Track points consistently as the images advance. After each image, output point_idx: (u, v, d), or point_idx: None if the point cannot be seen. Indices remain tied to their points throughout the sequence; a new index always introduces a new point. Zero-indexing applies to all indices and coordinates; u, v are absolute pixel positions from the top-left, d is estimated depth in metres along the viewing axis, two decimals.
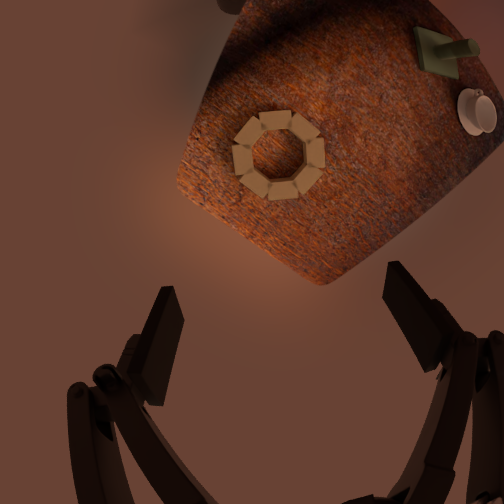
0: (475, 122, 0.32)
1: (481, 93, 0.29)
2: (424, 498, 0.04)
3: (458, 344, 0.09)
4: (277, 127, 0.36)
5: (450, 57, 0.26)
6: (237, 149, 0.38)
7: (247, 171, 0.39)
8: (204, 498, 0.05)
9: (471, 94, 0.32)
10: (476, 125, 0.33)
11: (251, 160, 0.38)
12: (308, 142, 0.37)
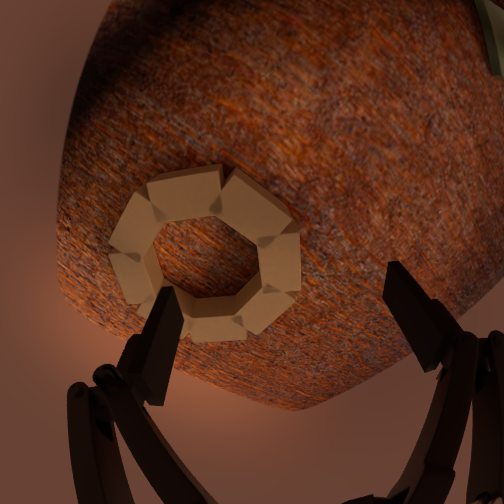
0: None
1: None
2: (424, 498, 0.04)
3: (458, 344, 0.09)
4: (189, 215, 0.17)
5: None
6: (118, 260, 0.18)
7: (145, 299, 0.20)
8: (204, 498, 0.05)
9: None
10: None
11: (148, 281, 0.19)
12: (263, 244, 0.18)
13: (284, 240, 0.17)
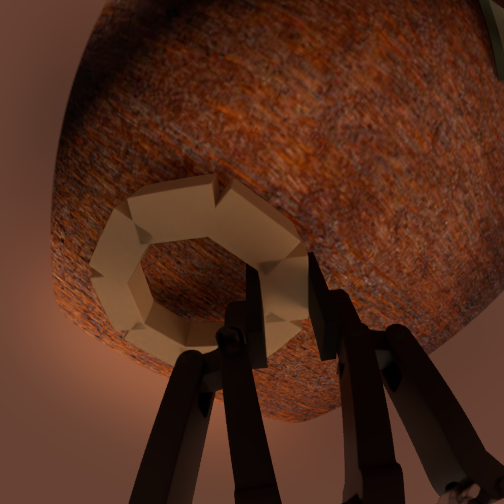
0: None
1: None
2: (379, 501, 0.04)
3: (346, 338, 0.10)
4: (178, 236, 0.14)
5: None
6: (101, 285, 0.15)
7: (133, 326, 0.17)
8: (276, 482, 0.06)
9: None
10: None
11: (135, 308, 0.16)
12: (266, 270, 0.15)
13: (290, 265, 0.15)
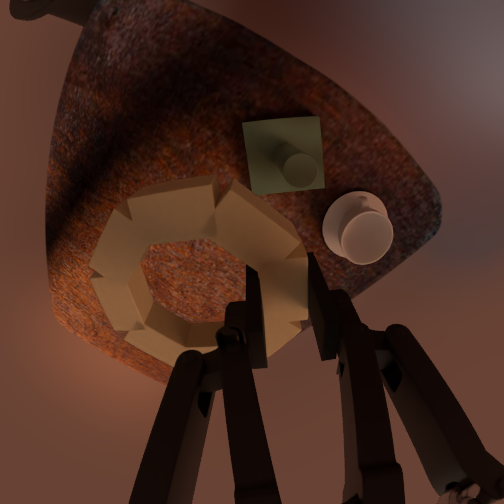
0: None
1: (364, 206, 0.31)
2: (379, 501, 0.04)
3: (346, 339, 0.10)
4: (178, 237, 0.14)
5: None
6: (101, 285, 0.15)
7: (133, 326, 0.17)
8: (276, 482, 0.06)
9: (356, 200, 0.34)
10: None
11: (134, 308, 0.16)
12: (265, 271, 0.15)
13: (290, 266, 0.15)
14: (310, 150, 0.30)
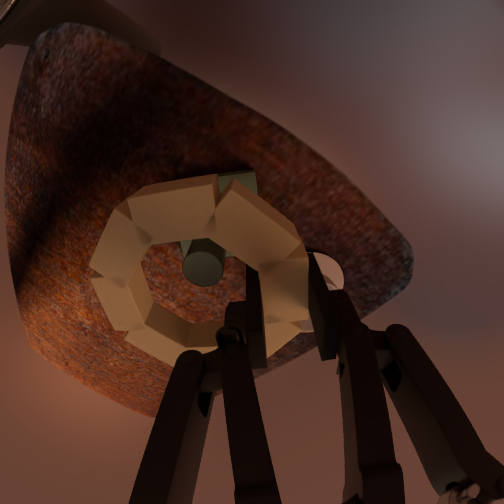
0: None
1: None
2: (379, 501, 0.04)
3: (346, 339, 0.10)
4: (178, 237, 0.14)
5: None
6: (101, 285, 0.15)
7: (133, 327, 0.17)
8: (276, 482, 0.06)
9: None
10: None
11: (135, 308, 0.16)
12: (266, 270, 0.15)
13: (290, 266, 0.15)
14: None
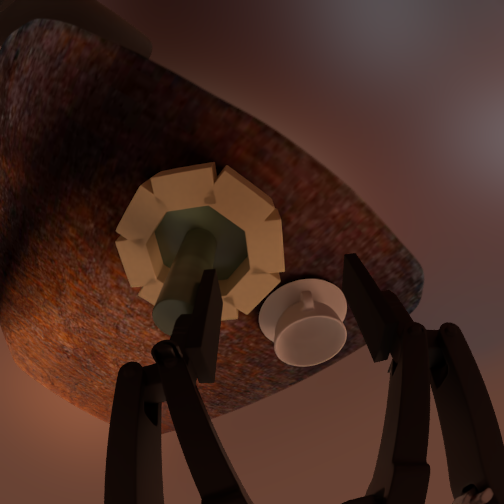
0: None
1: (306, 307, 0.24)
2: (402, 497, 0.04)
3: (404, 337, 0.10)
4: (187, 205, 0.19)
5: None
6: (124, 247, 0.21)
7: (147, 282, 0.22)
8: (239, 487, 0.05)
9: (303, 289, 0.28)
10: None
11: (150, 265, 0.22)
12: (250, 230, 0.20)
13: (268, 226, 0.20)
14: (233, 236, 0.23)
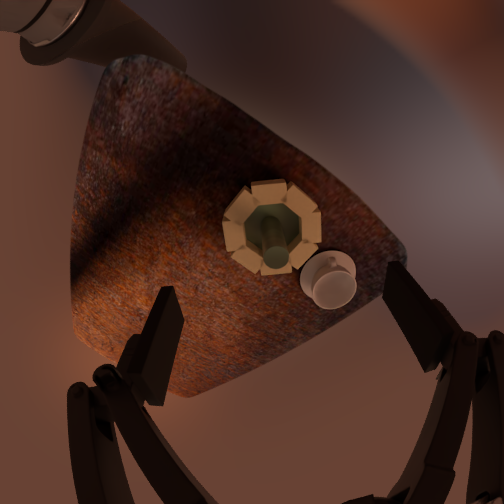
0: None
1: (332, 266, 0.40)
2: (424, 498, 0.04)
3: (458, 344, 0.09)
4: (271, 202, 0.36)
5: None
6: (227, 225, 0.37)
7: (239, 248, 0.39)
8: (204, 498, 0.05)
9: (328, 257, 0.44)
10: None
11: (243, 237, 0.38)
12: (304, 217, 0.37)
13: (314, 215, 0.37)
14: (291, 221, 0.40)
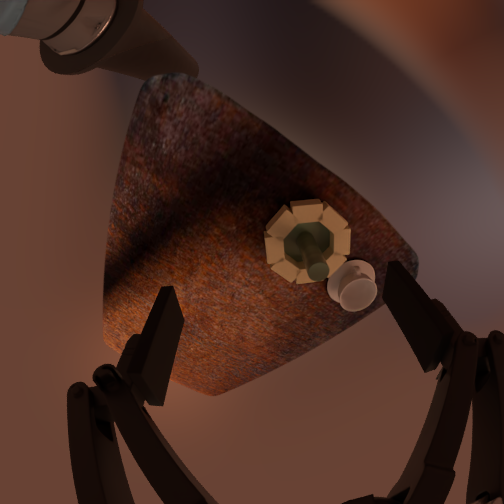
0: None
1: (357, 274, 0.45)
2: (424, 498, 0.04)
3: (458, 344, 0.09)
4: (309, 220, 0.40)
5: None
6: (270, 241, 0.41)
7: (278, 260, 0.43)
8: (204, 498, 0.05)
9: (352, 266, 0.48)
10: None
11: (283, 251, 0.42)
12: (336, 233, 0.41)
13: (344, 232, 0.41)
14: (323, 236, 0.44)
